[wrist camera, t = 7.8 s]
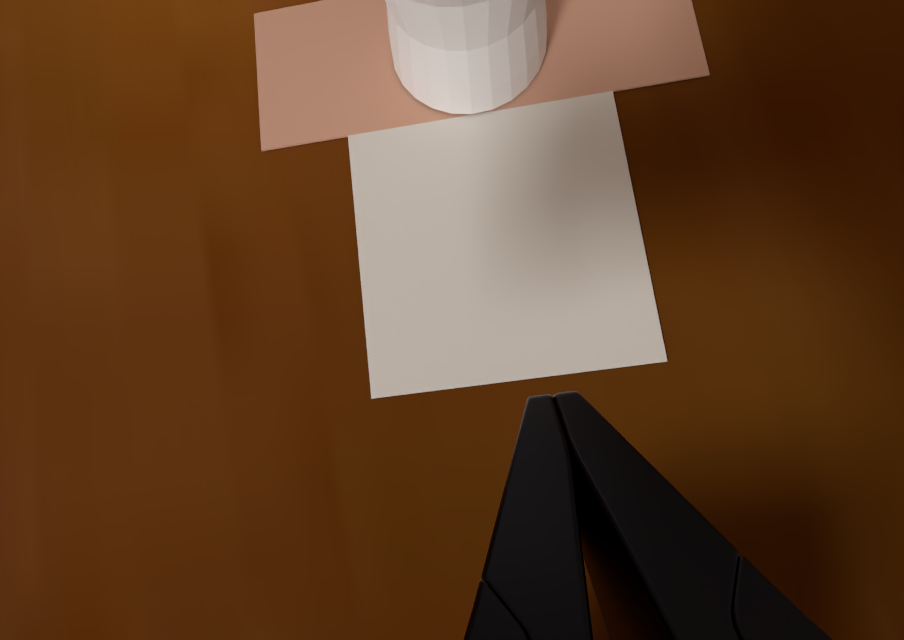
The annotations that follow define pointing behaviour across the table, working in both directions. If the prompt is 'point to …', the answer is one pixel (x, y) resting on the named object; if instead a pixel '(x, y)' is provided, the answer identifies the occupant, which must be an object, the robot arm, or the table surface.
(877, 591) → the table surface
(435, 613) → the table surface
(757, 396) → the table surface
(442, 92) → the white vase
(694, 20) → the t mat
